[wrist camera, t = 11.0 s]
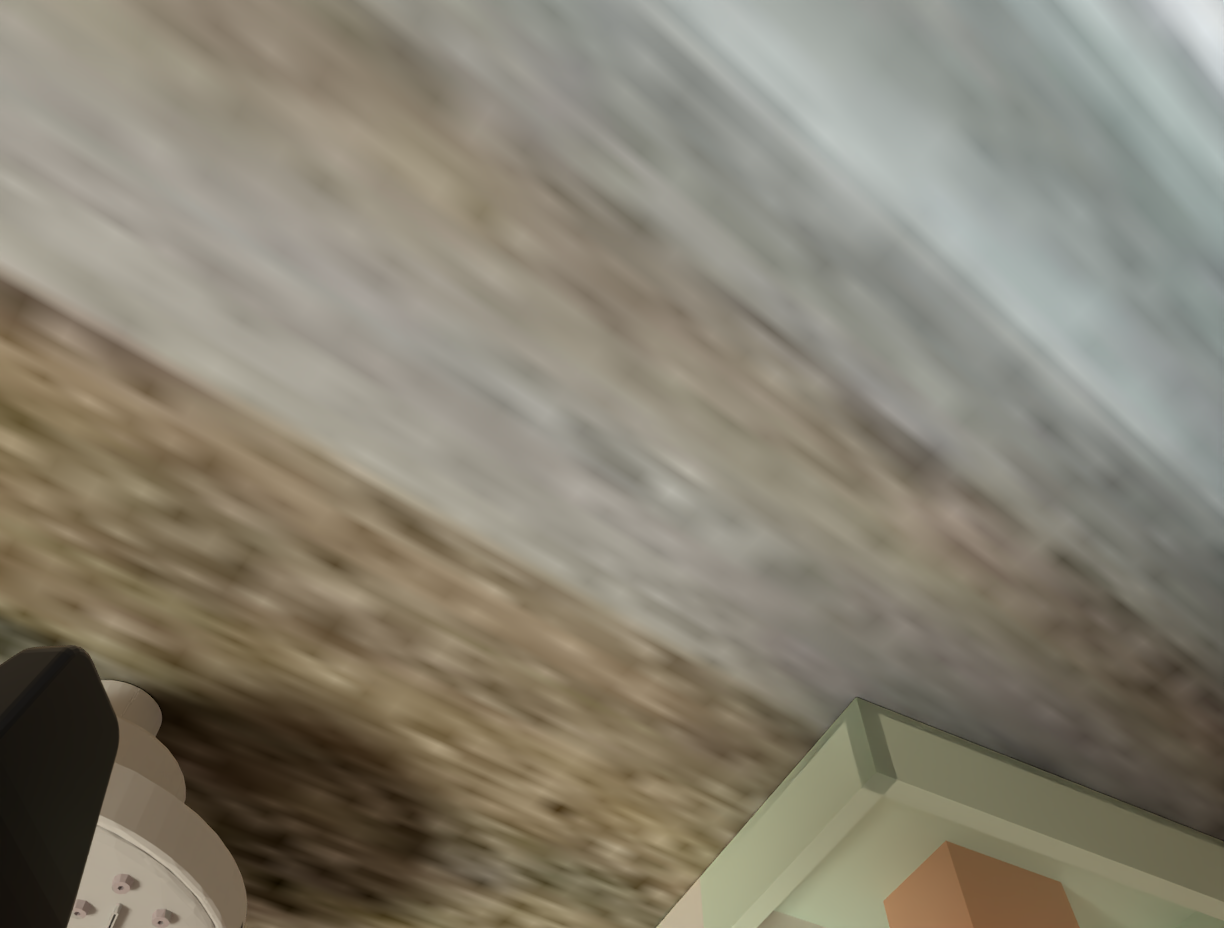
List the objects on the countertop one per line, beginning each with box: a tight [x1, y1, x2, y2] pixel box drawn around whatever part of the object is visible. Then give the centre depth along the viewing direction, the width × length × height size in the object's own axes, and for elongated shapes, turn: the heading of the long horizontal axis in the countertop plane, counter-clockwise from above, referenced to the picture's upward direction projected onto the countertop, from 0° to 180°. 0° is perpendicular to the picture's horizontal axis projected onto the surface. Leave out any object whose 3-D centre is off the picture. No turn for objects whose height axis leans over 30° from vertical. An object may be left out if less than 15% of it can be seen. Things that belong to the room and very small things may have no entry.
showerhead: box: [67, 680, 247, 928], centre depth 24 cm, size 9×7×10 cm
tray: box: [700, 697, 1224, 928], centre depth 29 cm, size 8×14×2 cm, turn 63°
